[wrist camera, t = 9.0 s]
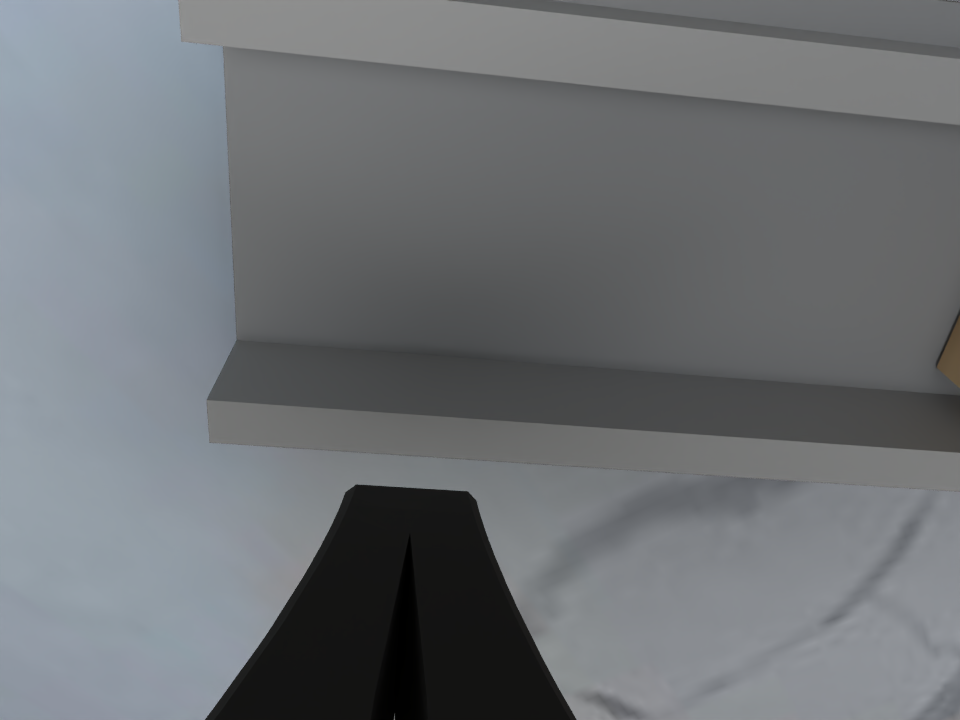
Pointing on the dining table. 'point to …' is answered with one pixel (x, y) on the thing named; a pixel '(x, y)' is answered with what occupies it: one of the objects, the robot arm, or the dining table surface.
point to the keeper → (952, 356)
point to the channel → (596, 232)
